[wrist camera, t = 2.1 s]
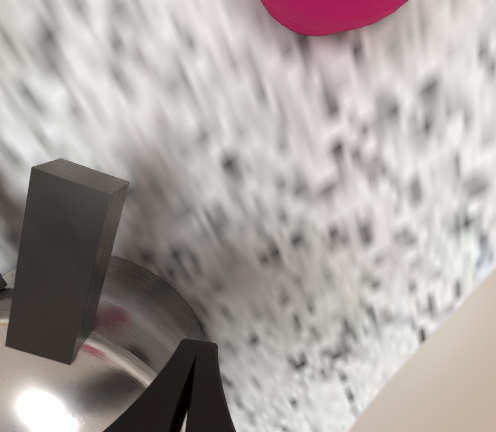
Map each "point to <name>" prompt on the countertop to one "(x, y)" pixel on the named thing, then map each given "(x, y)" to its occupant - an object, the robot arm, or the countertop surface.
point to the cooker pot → (135, 312)
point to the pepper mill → (329, 14)
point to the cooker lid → (65, 309)
